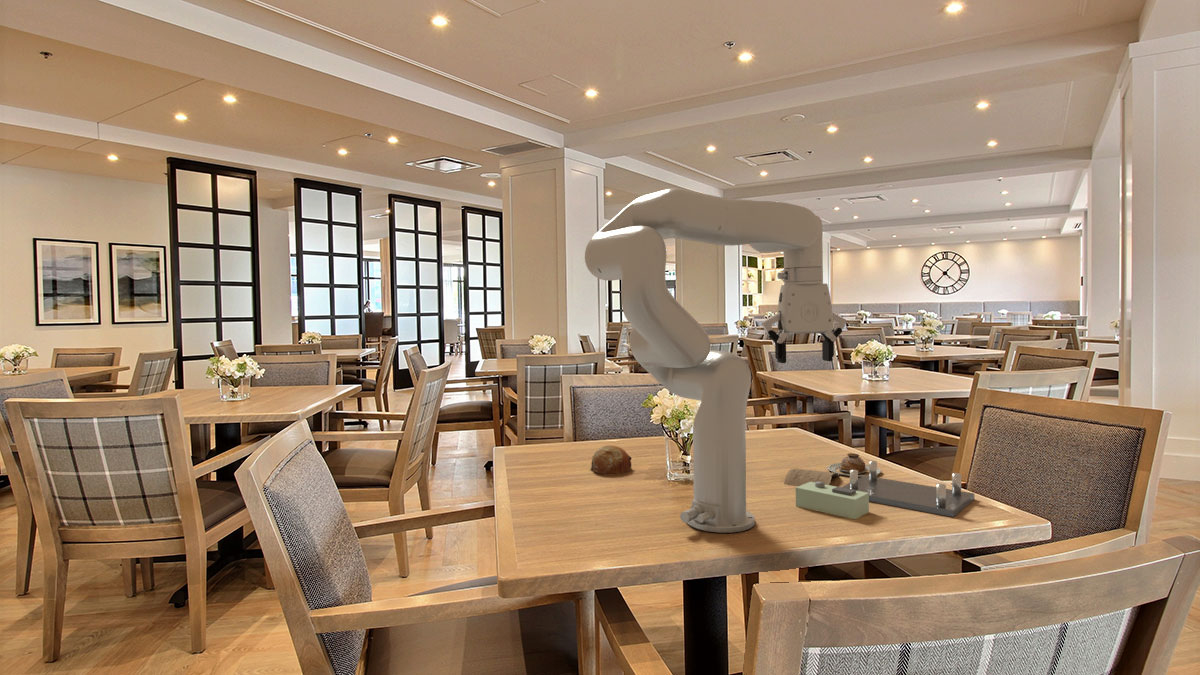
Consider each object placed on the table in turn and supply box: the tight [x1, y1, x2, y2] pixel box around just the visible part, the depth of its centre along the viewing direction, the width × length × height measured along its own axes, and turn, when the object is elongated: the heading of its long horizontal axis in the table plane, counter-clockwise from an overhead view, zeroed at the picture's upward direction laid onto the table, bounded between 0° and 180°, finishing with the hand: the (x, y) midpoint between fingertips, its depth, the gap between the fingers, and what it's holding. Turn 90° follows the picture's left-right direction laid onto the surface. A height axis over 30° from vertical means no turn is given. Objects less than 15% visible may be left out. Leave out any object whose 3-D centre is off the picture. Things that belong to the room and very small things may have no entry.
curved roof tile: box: [783, 467, 840, 487], centre depth 144 cm, size 14×10×3 cm
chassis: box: [842, 460, 975, 518], centre depth 130 cm, size 15×22×5 cm
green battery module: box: [795, 481, 870, 520], centre depth 123 cm, size 6×12×5 cm, turn 44°
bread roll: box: [590, 444, 632, 476], centre depth 157 cm, size 10×10×8 cm
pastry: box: [827, 452, 882, 478], centre depth 151 cm, size 12×12×5 cm
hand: (804, 361), depth 128 cm, fingers open, 9 cm apart
